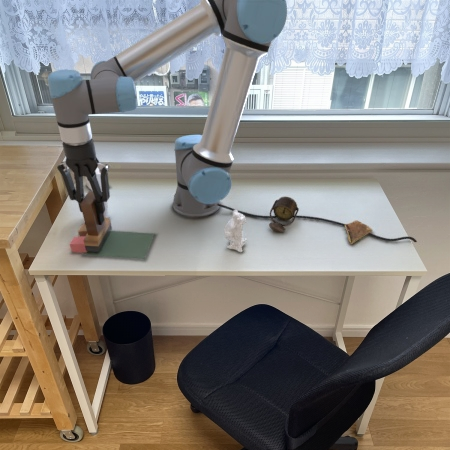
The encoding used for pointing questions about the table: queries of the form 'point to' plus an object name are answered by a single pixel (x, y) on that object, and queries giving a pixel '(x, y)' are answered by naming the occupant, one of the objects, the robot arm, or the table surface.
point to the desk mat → (125, 245)
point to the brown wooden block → (94, 225)
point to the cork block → (82, 230)
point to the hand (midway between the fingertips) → (95, 221)
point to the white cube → (97, 179)
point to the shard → (357, 231)
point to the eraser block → (78, 244)
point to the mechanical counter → (283, 213)
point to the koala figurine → (235, 231)
